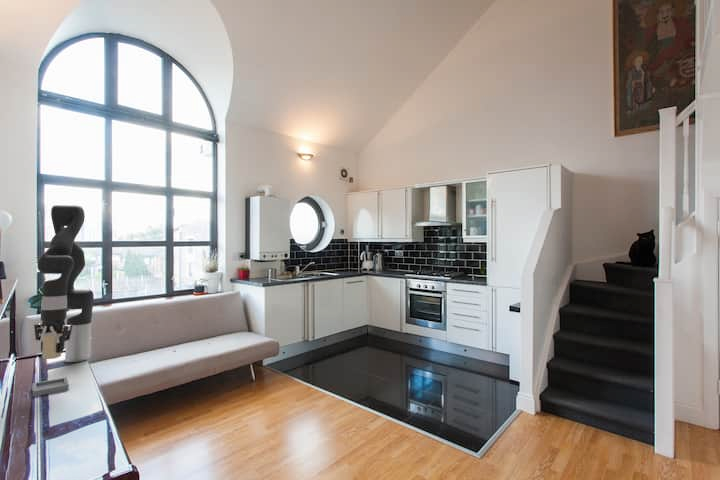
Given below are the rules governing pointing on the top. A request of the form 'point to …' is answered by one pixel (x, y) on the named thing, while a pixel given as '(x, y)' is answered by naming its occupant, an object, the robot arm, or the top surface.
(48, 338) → the candle
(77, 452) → the top surface
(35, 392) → the holder
